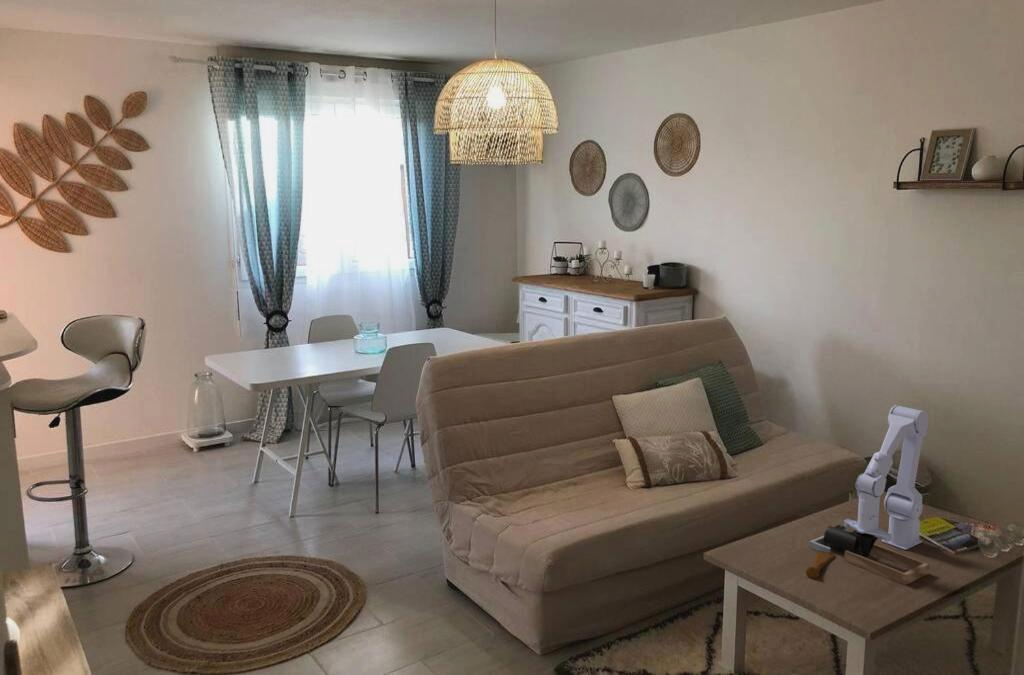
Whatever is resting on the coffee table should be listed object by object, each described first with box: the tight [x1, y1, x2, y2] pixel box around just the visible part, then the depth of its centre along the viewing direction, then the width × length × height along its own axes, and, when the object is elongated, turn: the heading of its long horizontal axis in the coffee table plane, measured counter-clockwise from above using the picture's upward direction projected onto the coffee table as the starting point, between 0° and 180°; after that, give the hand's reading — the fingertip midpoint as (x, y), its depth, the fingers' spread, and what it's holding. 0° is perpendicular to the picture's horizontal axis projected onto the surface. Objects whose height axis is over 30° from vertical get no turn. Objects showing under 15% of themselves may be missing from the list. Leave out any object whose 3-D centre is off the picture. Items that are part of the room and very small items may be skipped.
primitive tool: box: [805, 551, 836, 579], centre depth 247 cm, size 19×6×4 cm, turn 150°
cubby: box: [843, 543, 931, 586], centre depth 246 cm, size 12×20×3 cm, turn 34°
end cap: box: [823, 524, 862, 555], centre depth 257 cm, size 10×7×7 cm
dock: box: [808, 535, 832, 554], centre depth 261 cm, size 13×7×2 cm, turn 124°
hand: (865, 555), depth 251 cm, fingers closed
